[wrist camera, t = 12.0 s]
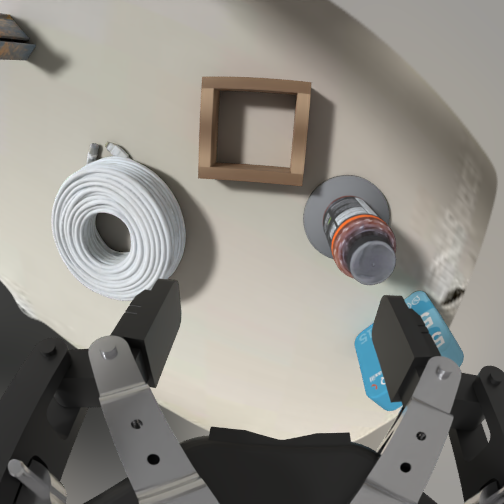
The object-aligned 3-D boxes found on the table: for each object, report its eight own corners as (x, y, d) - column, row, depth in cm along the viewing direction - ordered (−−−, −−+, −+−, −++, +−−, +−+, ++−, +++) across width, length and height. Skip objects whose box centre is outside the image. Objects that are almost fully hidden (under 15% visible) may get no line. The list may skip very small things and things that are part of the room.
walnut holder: (209, 80, 29) (202, 76, 27) (308, 85, 29) (311, 82, 26) (205, 172, 34) (198, 178, 31) (300, 179, 33) (302, 186, 30)
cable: (98, 129, 33) (70, 135, 27) (216, 202, 36) (204, 220, 30) (59, 239, 40) (35, 257, 34) (156, 304, 42) (140, 330, 37)
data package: (420, 285, 37) (456, 343, 26) (434, 305, 38) (468, 361, 28) (352, 337, 42) (367, 403, 31) (368, 353, 43) (385, 416, 32)
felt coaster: (308, 169, 33) (309, 170, 32) (394, 181, 32) (396, 183, 32) (298, 253, 37) (298, 256, 36) (378, 261, 36) (379, 263, 36)
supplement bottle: (374, 239, 35) (407, 290, 24) (325, 248, 36) (341, 303, 25) (369, 189, 32) (406, 224, 22) (317, 198, 33) (333, 237, 23)
